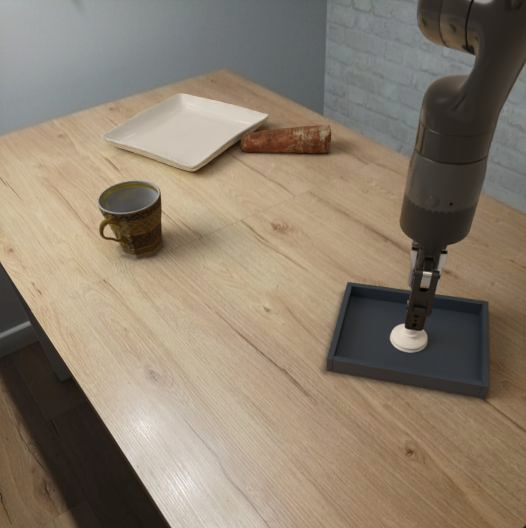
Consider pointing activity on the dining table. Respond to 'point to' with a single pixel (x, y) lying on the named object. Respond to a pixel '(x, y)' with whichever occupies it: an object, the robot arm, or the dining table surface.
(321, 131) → the rusty brown tapered cylinder
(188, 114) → the square plate
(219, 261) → the dining table surface
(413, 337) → the chess piece
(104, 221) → the ceramic cup
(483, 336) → the tray
